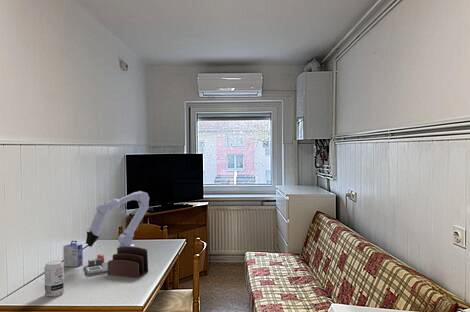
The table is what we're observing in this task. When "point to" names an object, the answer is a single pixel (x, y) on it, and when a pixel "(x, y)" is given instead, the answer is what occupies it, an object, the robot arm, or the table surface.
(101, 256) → the cap
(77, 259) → the ink cartridge box
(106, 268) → the breaker panel
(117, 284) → the table surface
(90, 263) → the block
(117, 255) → the letter holder
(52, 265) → the supplement can
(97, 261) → the block
